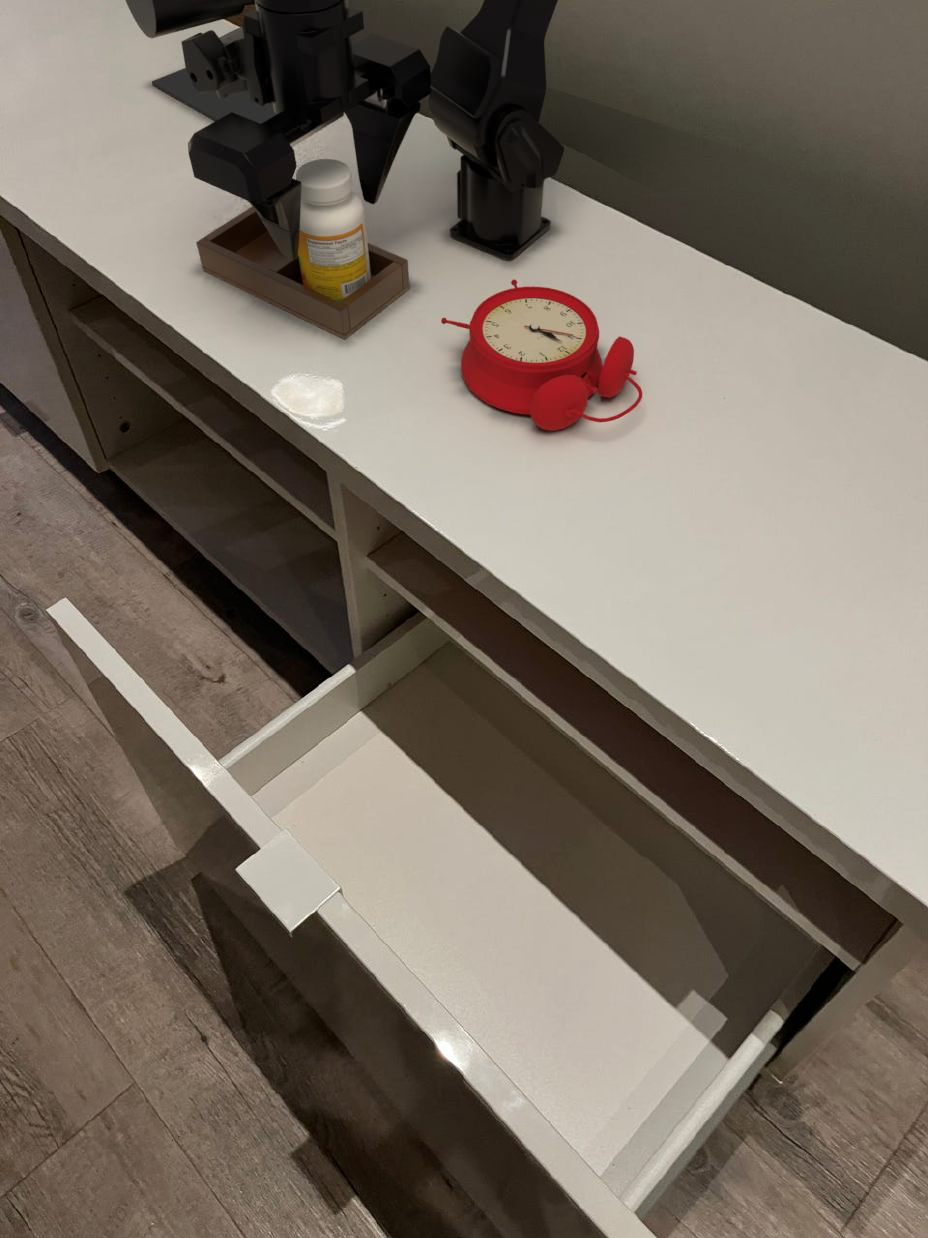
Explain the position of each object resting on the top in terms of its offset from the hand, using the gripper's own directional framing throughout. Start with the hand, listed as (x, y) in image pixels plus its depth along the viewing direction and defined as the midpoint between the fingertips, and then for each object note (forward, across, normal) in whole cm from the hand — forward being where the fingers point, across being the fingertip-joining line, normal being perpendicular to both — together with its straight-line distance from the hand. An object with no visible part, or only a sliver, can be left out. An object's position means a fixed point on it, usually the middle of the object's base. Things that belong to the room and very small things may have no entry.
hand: (331, 228), depth 70 cm
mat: (+6, -20, -30) cm, 36 cm away
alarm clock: (+6, -1, +19) cm, 20 cm away
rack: (+6, 0, -4) cm, 7 cm away
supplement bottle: (+6, 0, 0) cm, 6 cm away
